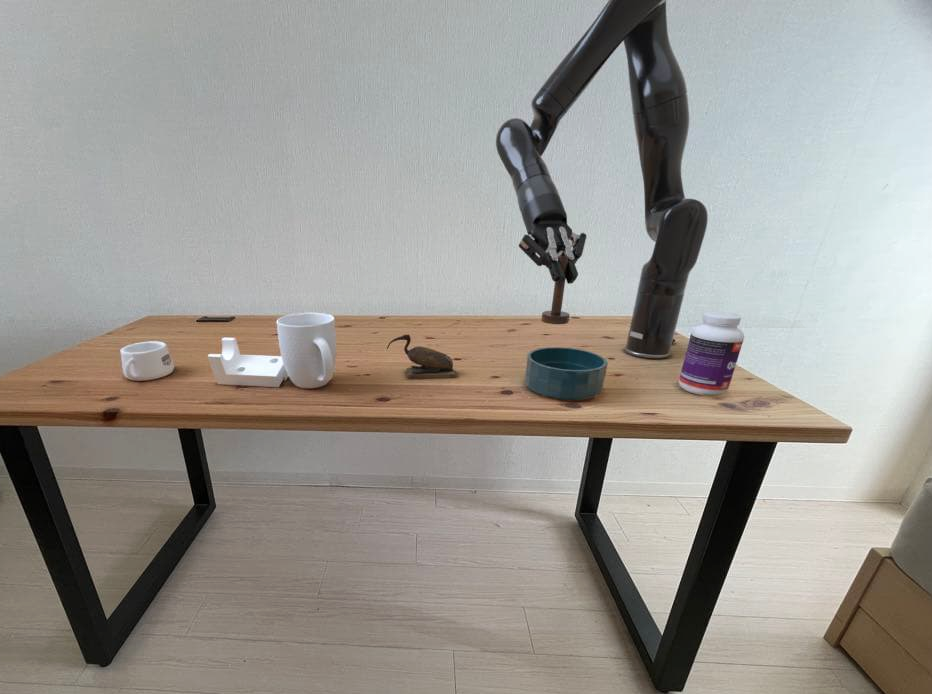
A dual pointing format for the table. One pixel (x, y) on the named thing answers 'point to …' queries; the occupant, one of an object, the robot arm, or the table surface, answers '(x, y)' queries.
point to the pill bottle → (712, 354)
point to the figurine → (427, 362)
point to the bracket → (246, 367)
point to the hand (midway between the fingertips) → (566, 280)
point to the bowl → (565, 373)
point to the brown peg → (557, 300)
